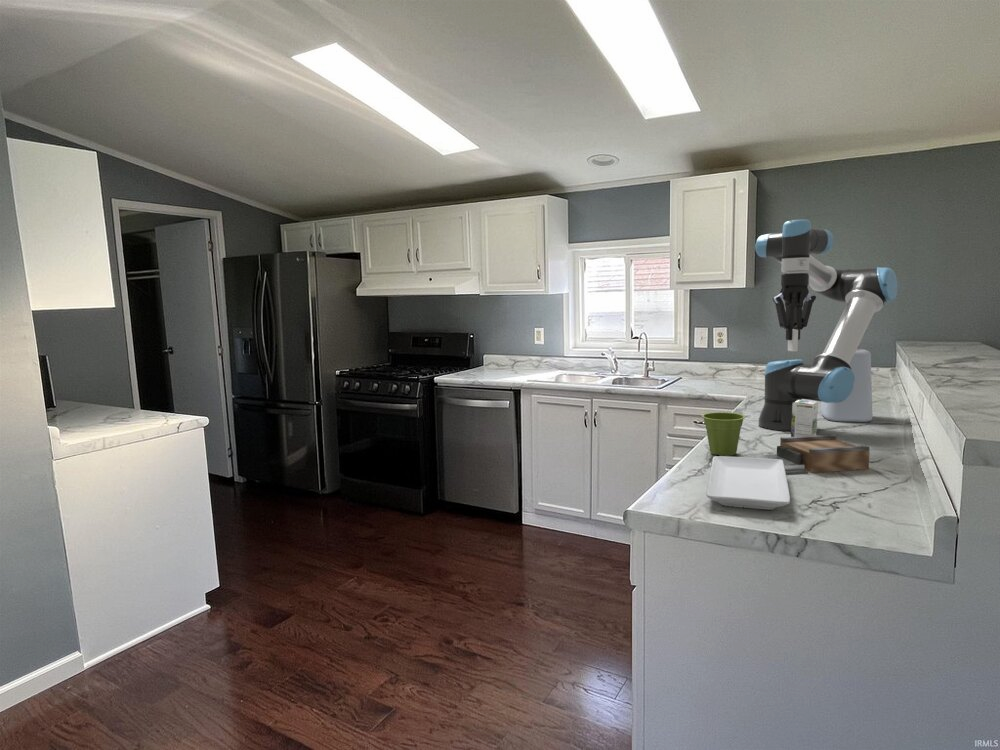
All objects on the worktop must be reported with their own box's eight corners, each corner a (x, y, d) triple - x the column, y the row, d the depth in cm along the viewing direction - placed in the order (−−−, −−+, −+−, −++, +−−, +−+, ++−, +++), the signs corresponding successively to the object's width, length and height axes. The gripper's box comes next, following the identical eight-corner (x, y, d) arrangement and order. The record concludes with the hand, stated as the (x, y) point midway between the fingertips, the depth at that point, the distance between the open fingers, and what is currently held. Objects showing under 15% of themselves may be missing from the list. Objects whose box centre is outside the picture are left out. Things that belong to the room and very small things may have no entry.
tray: (705, 509, 131) (705, 493, 130) (712, 467, 159) (713, 454, 159) (790, 518, 124) (791, 501, 124) (782, 472, 153) (783, 459, 152)
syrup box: (794, 446, 181) (796, 399, 179) (816, 449, 177) (818, 400, 175) (789, 450, 176) (791, 401, 174) (811, 453, 173) (813, 403, 171)
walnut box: (832, 455, 170) (833, 434, 169) (868, 468, 156) (869, 446, 155) (779, 458, 168) (780, 437, 167) (811, 472, 154) (812, 450, 153)
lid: (779, 458, 166) (780, 444, 166) (804, 469, 155) (804, 455, 155) (735, 461, 165) (735, 447, 164) (757, 472, 154) (757, 458, 153)
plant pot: (724, 446, 183) (725, 410, 181) (753, 455, 172) (754, 417, 170) (692, 451, 179) (693, 414, 177) (720, 460, 168) (721, 421, 166)
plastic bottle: (827, 421, 213) (830, 343, 209) (818, 413, 227) (821, 340, 224) (875, 423, 208) (879, 343, 205) (863, 414, 223) (867, 339, 219)
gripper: (782, 272, 176) (779, 352, 179) (823, 271, 177) (820, 351, 180) (767, 274, 183) (765, 350, 186) (807, 272, 185) (804, 349, 188)
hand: (792, 350), depth 183 cm, fingers closed
